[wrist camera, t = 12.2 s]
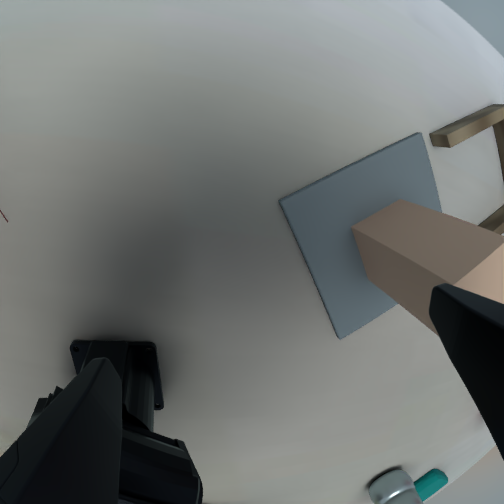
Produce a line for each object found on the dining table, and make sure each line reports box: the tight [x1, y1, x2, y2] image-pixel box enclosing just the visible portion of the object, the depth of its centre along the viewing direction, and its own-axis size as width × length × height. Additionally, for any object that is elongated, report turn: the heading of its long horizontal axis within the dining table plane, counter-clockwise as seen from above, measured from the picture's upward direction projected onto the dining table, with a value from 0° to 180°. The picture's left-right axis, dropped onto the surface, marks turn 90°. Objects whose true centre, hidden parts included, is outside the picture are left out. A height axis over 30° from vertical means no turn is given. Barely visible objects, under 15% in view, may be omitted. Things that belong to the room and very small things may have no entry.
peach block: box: [351, 199, 504, 336], centre depth 18 cm, size 4×4×10 cm
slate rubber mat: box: [279, 133, 442, 340], centre depth 22 cm, size 12×12×1 cm
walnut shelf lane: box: [430, 104, 504, 235], centre depth 21 cm, size 10×11×4 cm
